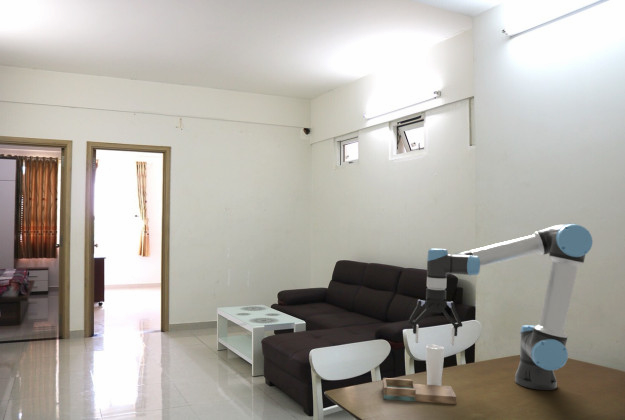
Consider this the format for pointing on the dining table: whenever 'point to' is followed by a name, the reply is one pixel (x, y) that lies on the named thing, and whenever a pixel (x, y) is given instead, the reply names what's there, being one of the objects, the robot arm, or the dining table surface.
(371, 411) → the dining table surface
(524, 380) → the robot arm
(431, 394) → the rail board
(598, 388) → the dining table surface
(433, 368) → the white cylinder
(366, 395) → the dining table surface
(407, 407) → the dining table surface
